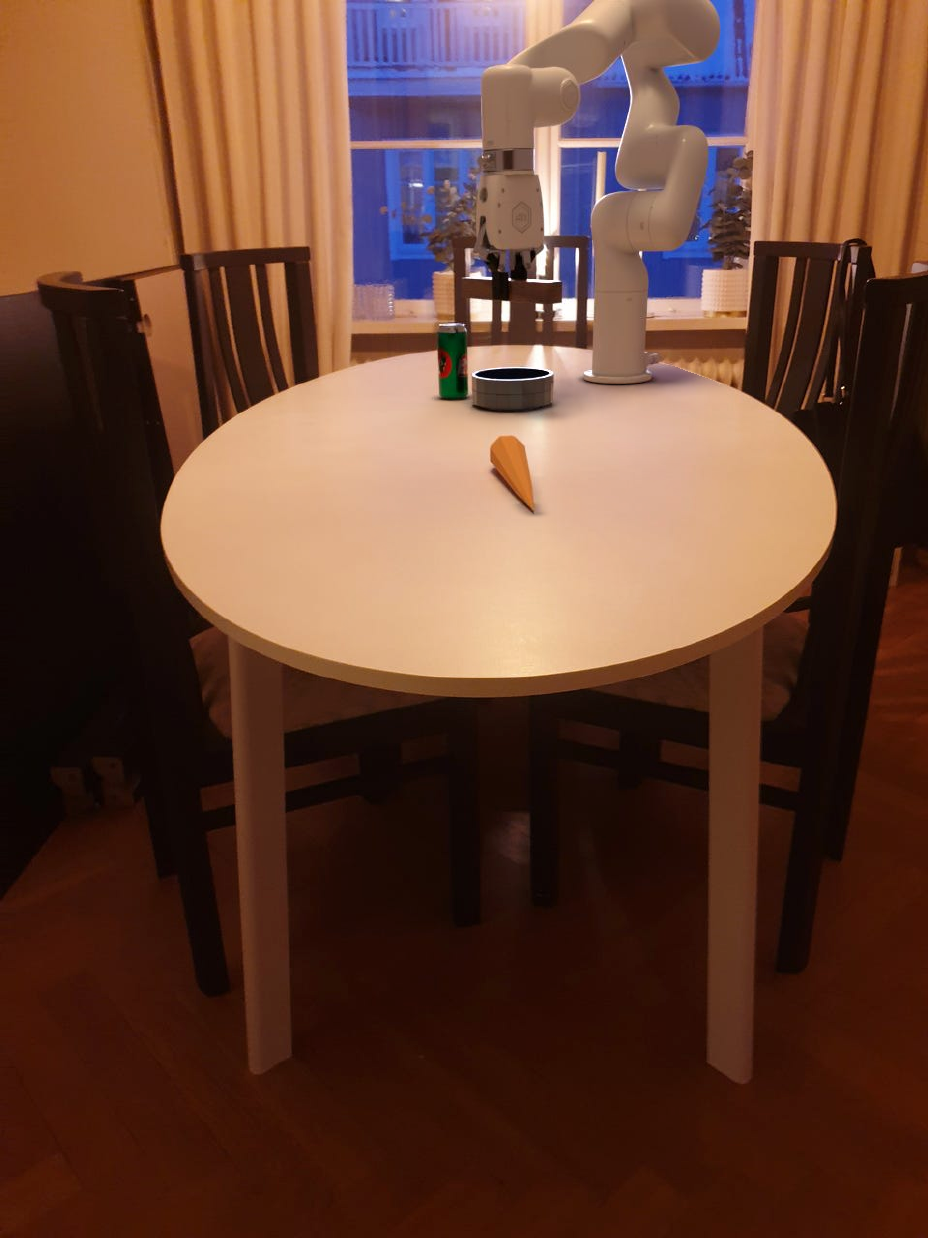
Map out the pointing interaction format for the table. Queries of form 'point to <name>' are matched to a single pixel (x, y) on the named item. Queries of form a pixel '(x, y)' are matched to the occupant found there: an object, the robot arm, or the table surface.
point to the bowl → (512, 388)
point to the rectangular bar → (515, 290)
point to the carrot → (513, 466)
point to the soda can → (452, 361)
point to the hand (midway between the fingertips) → (509, 297)
